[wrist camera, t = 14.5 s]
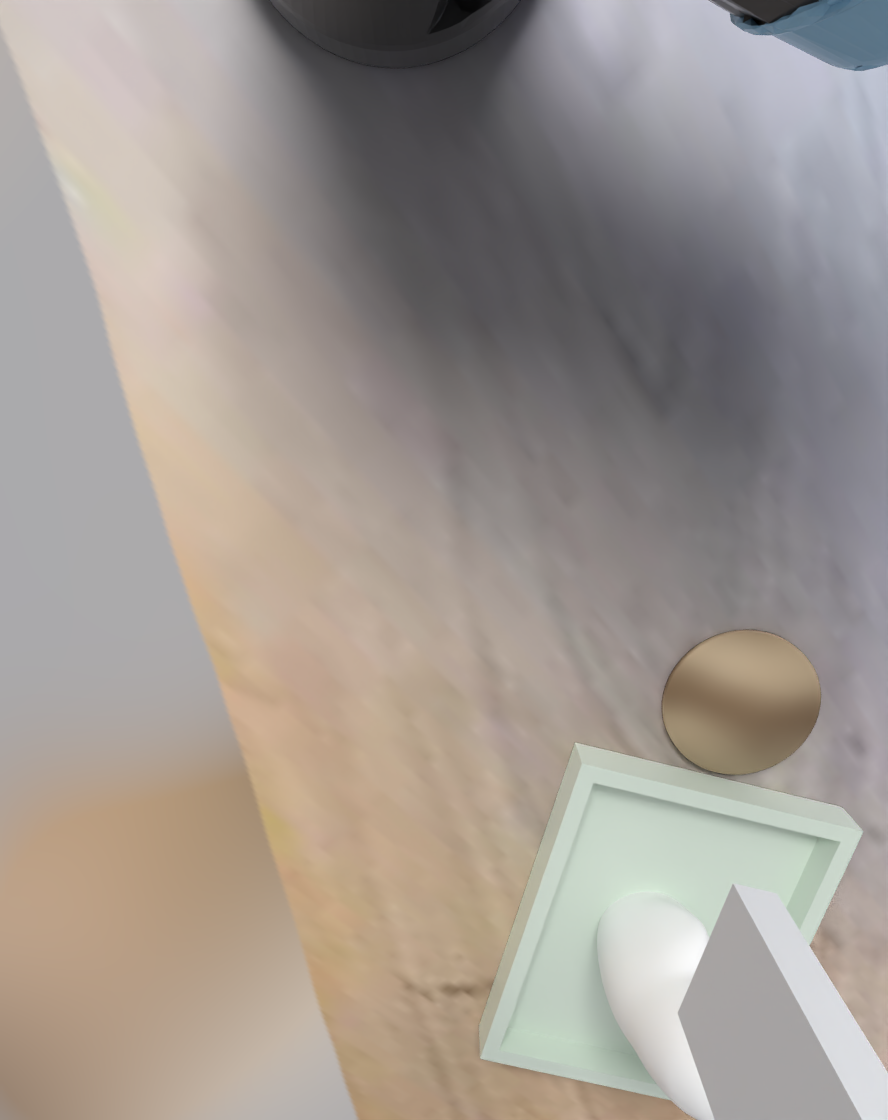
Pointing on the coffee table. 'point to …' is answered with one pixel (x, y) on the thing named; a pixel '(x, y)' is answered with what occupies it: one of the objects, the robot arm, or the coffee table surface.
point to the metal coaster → (741, 702)
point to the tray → (638, 866)
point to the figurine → (654, 987)
